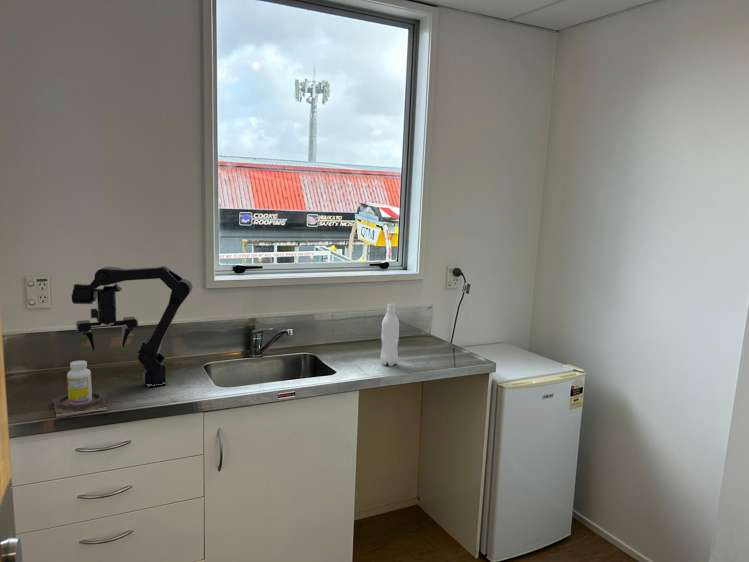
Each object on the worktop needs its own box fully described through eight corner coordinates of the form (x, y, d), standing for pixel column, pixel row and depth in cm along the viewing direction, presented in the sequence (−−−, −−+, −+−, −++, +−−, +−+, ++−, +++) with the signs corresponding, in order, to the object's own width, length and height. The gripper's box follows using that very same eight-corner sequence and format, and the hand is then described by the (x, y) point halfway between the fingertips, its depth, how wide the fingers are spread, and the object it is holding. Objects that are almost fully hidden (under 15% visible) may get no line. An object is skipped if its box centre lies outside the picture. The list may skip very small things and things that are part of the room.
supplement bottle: (77, 397, 186) (75, 358, 184) (96, 399, 185) (95, 360, 183) (63, 405, 179) (61, 364, 177) (83, 406, 178) (82, 366, 176)
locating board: (101, 396, 192) (101, 388, 191) (107, 410, 180) (107, 402, 179) (52, 403, 184) (52, 395, 184) (56, 418, 172) (55, 409, 172)
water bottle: (391, 367, 233) (393, 306, 230) (376, 364, 238) (378, 304, 234) (401, 364, 239) (403, 304, 235) (387, 360, 243) (389, 301, 240)
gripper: (131, 298, 210) (132, 340, 213) (73, 301, 200) (75, 346, 203) (137, 303, 201) (138, 347, 203) (77, 307, 191) (78, 354, 193)
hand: (108, 348), depth 201 cm, fingers open, 9 cm apart
